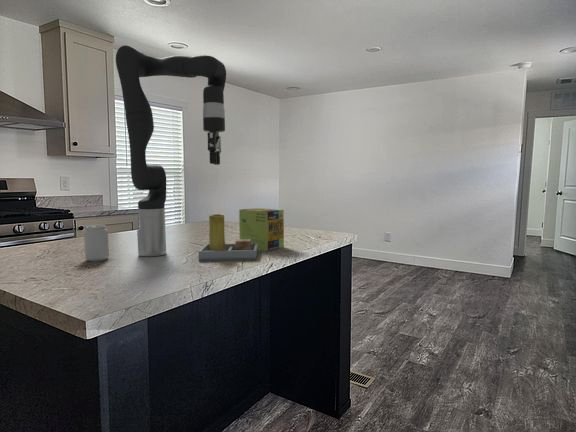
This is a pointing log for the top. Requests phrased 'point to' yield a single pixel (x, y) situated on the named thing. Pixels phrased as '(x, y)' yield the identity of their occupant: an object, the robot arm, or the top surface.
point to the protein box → (262, 227)
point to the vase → (216, 232)
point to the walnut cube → (243, 244)
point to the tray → (228, 253)
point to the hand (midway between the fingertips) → (215, 164)
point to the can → (96, 243)
